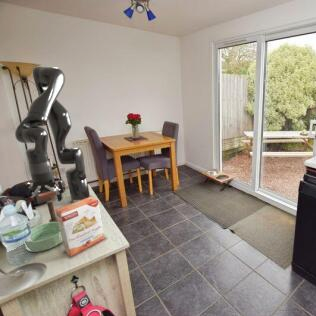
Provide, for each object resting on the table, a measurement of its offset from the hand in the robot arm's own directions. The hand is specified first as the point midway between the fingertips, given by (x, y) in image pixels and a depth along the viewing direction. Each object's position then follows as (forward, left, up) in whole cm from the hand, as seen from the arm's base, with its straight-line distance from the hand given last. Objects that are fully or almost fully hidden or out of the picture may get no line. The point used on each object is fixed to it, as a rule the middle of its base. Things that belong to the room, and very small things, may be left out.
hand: (49, 201), depth 106 cm
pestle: (0, 0, -14) cm, 14 cm away
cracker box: (+19, +18, -14) cm, 30 cm away
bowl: (+12, +1, -14) cm, 18 cm away
